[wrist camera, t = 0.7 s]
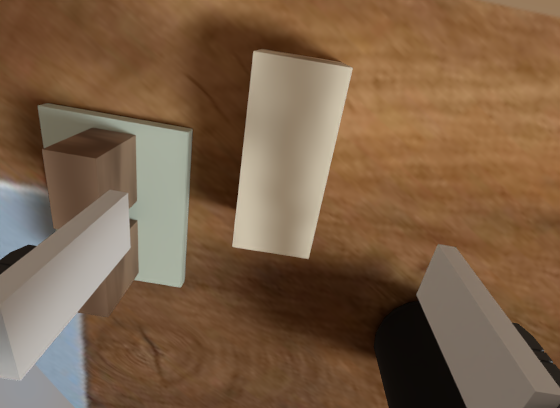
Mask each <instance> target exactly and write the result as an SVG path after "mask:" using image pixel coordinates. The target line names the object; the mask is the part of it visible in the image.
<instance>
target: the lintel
mask: <svg viewBox="0 0 560 408" xmlns="http://www.w3.org/2000/svg"><path fill="white" fill-rule="evenodd" d="M352 69H353V68H352V67H350V66H348V65H346V64H344V63H342V62H338V61H332V60H326V59H320V58H314V57H308V56H302V55H297V54H291V53H285V52H279V51H273V50H267V49H260V50H256V51H253V60H252V69H251V79H250V88H249V97H248V106H247V116H246V125H245V134H244V143H243V153H242V162H241V171H240V180H239V190H238V199H237V208H236V217H235V227H234V236H233V245H232V247H236V248H242V249H249V250H255V251H262V252H268V253H274V254H281V255H287V256H294V257H300V258H306V259H309V255H310V251H311V246H312V242H313V238H314V233H315V229H316V225H317V220H318V216H319V212H320V207H321V203H322V199H323V194H324V190H325V186H326V181H327V177H328V173H329V168H330V164H331V160H332V155H333V151H334V147H335V143H336V138H337V134H338V130H339V125H340V121H341V117H342V112H343V108H344V104H345V99H346V95H347V91H348V86H349V82H350V78H351V73H352Z"/></svg>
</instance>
